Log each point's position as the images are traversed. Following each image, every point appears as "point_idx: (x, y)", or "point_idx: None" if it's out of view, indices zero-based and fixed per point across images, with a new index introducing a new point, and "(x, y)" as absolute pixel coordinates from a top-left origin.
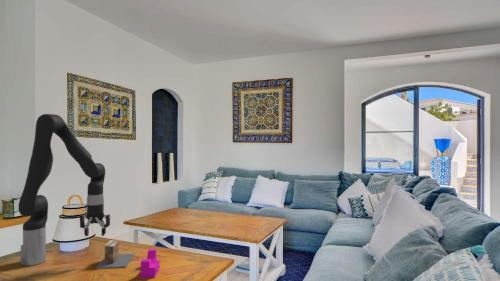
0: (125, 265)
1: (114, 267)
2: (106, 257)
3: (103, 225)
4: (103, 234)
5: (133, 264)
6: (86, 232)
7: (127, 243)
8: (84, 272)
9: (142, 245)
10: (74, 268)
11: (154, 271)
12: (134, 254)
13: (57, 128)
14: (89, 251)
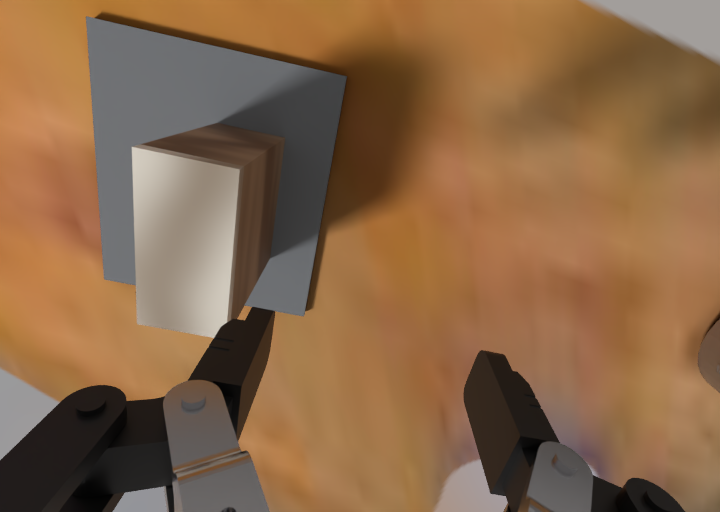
0: (95, 35)
1: (189, 40)
2: (257, 142)
3: (167, 433)
4: (244, 322)
5: (48, 68)
6: (507, 390)
7: None
8: (423, 30)
9: None
10: (506, 152)
11: None
12: (107, 273)
13: None
14: (433, 419)
